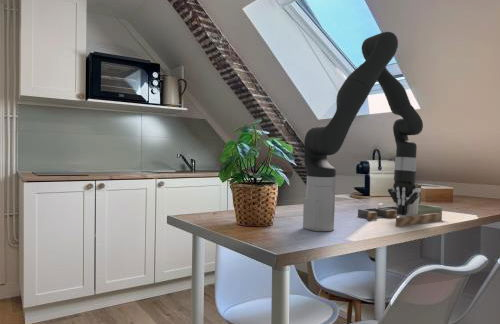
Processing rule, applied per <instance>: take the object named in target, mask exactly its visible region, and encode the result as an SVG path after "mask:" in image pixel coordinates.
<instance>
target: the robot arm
mask: <svg viewBox="0 0 500 324" xmlns="http://www.w3.org/2000/svg"><path fill="white" fill-rule="evenodd" d="M398 47H399V40H398V37H397V35H396V34H395V33H394V32H392V31H383V32H380V33H378V34H375V35H372V36H369V37H367V38H366V39H364V40H363V42H362V44H361V53H362V56H363V59H364V60H365V61H364V62H362V63H361V64H360V65H359V66H358V67H356V69H354V70H353V71H352V72H351V73H350V74H349V75H348V76H347V77H346V79H345V80H344V81H343V83H342V85H341V86H340V88H339V90H338V92H337V94H336V101H335V103H336V110H335V113H334V114H333V116H332V118H331V120H330V121H329V123H327V125H326V126H317V127H312V128H310V129H309V130H308V131H306V134H305V137H304V141H303V142H304V143H303V145H304V146H303V148H304V149H303V150H304V151H303V153H304V154H303V155H304V158H303V159H304V167H305V169H306V192H305V194H306V195H305V198H303V209H302V210H303V215H302V216H303V217H302V218H303V219H302V228H303V229H305V230H309V231H313V232H331V231H334V230H335V208H336V207H335V201H336V200H335V199H336V176H337V175H336V174H337V173H336V172H337V171H336V167H334V166H332V164H330V163H329V161H328V156H333V155H335V154H336V153H338V151H340V149H341V148H342V146H343V144H344V142H345V140H346V137H347V135H348V133H349V130H350V129H351V126H352V124H353V122H354V120H355V119H356V117H357V115H358V112H360V110H361V108H362V106H363V105H364V103H365V101H366V99H367V98H368V96H369V95H370V93H371V91H372V89H373V88H374V86H375V84H376V82H378V84H379V85H380V88H381V89H382V91H383V93H384V96H385V98H386V101H387V104H388V107H389V109H390V111H391V112H392V114H394V115H397V116H400V117H398V118H396V119H395V121H394V122H393V125H392V130H393V136H394V142H395V145H396V149H395V150H396V151H395V152H396V153H395V161H394V171H393V173H394V174H393V180H394V183H393V186H392V187H391V188H388V189H387V192H388V193H389V195H390V197H391V198H392V201H393V203H395V204H396V203H397V204H398V213H399V215H406V214H407V206H408V205H410V204H413V203H414V202H415V200H416V199H417V198H418V197H419V196H420V195H421V196H422V194H421V193H422V192H421V193H420V192H418V191H417V190H416V189H415V184H416V177H417V175H416V174H417V148H418V147H417V143H415V142H413V141H410V140H409V136H417V135H419V134H421V133H422V131H423V128H424V123H423V120H422V117H421V116H420V114H419V113H418V112H417V110H416V109H415V108H414V106H413V105H412V103H411V101H410V99H409V96H408V92H407V90H406V89H405V87H404V85H403V84H402V83H401V82H400V81H399V80H398V79H397V78H396V77H395V75H393V74H392V73H391V72H390V71H389V70H388V69H387V66H388V64H389V63H390V62H391V61H392V59H393V58H394V57H395V55H396V53H397V51H398ZM396 193H397V194H396ZM411 194H412V196H411V197H410V195H411Z"/></svg>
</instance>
